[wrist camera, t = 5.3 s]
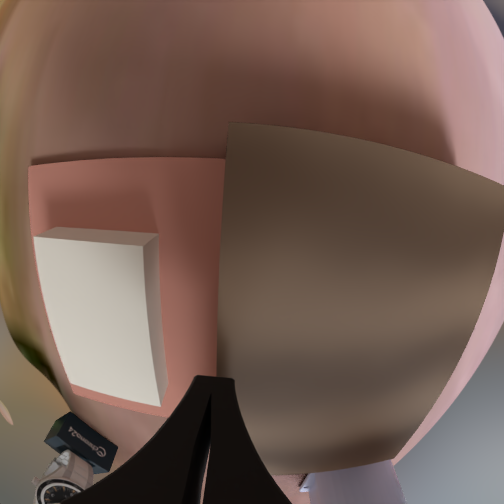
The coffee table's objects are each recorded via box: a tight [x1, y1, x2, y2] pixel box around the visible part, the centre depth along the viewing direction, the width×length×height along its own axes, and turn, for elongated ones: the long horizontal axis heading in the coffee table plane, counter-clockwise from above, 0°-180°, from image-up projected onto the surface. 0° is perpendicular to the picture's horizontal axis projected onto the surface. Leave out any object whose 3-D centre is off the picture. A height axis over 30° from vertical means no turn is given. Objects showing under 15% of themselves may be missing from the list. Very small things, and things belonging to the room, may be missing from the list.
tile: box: [33, 227, 168, 407], centre depth 12 cm, size 9×6×2 cm, turn 175°
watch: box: [32, 412, 118, 504], centre depth 12 cm, size 6×8×11 cm
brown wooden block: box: [216, 122, 504, 475], centre depth 12 cm, size 18×12×4 cm, turn 175°
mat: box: [28, 157, 226, 418], centre depth 13 cm, size 16×11×1 cm
